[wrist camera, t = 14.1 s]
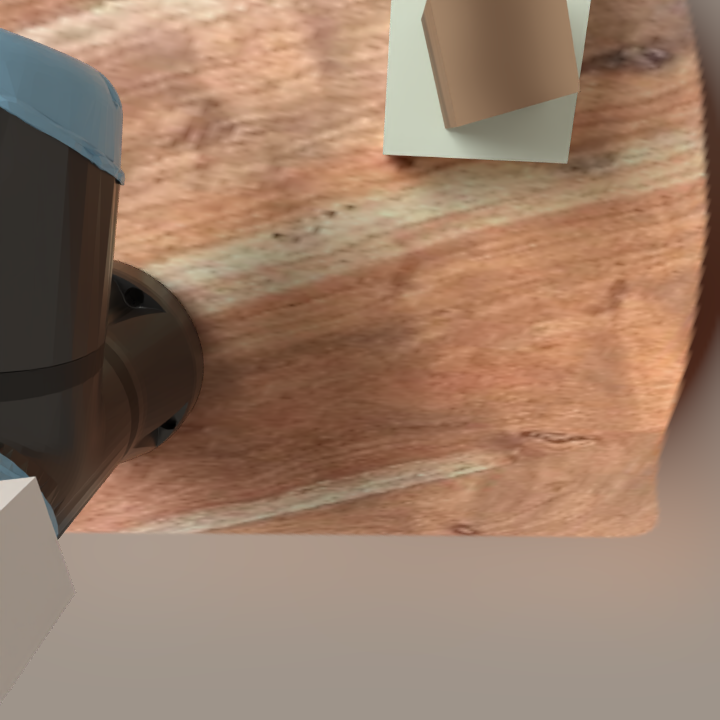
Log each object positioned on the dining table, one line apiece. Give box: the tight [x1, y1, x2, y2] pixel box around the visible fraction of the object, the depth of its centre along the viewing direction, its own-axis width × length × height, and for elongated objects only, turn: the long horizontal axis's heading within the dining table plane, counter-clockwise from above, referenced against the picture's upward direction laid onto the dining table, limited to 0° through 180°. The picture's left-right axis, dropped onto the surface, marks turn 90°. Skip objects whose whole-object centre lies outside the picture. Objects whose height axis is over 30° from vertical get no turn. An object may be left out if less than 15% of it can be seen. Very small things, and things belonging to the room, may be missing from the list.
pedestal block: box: [383, 0, 591, 164], centre depth 40 cm, size 11×11×5 cm
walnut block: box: [421, 0, 581, 129], centre depth 34 cm, size 6×6×7 cm
